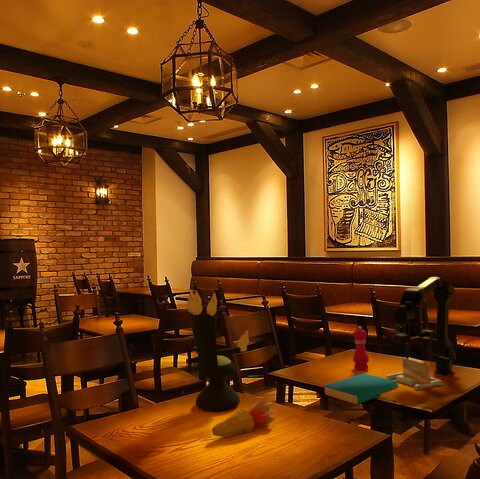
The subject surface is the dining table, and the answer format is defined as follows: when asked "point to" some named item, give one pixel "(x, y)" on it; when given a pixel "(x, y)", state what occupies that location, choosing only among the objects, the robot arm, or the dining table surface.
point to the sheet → (416, 370)
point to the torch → (245, 419)
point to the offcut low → (407, 384)
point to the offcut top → (406, 380)
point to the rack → (419, 386)
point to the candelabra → (213, 357)
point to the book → (359, 388)
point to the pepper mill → (360, 350)
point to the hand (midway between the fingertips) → (415, 357)
